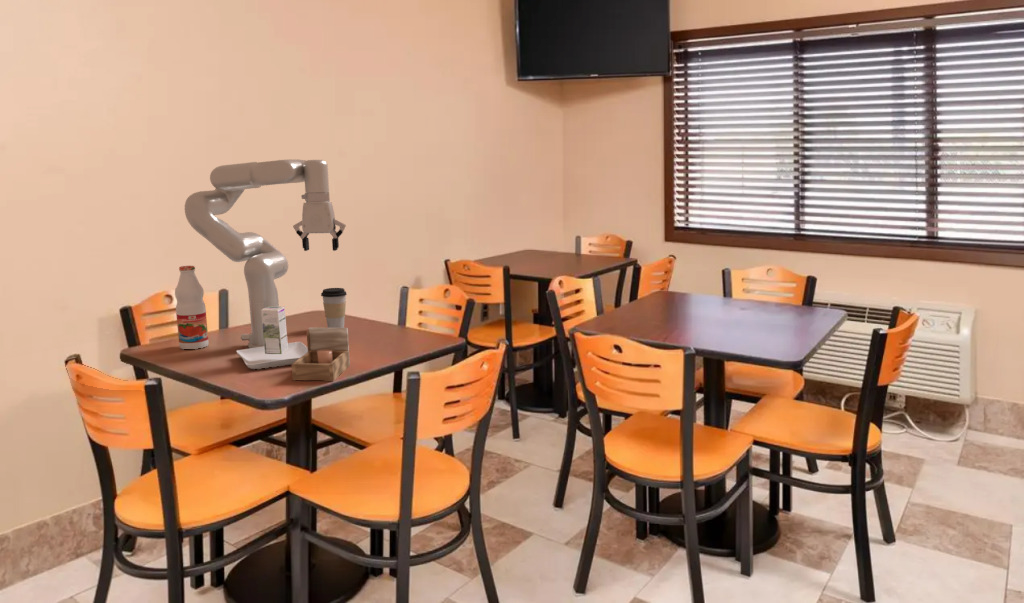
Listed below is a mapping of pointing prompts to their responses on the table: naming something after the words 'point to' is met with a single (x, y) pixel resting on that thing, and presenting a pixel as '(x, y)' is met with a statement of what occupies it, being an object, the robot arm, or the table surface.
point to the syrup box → (274, 330)
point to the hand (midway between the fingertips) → (320, 250)
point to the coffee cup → (334, 306)
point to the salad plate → (272, 356)
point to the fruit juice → (190, 311)
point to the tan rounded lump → (325, 356)
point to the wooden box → (317, 341)
